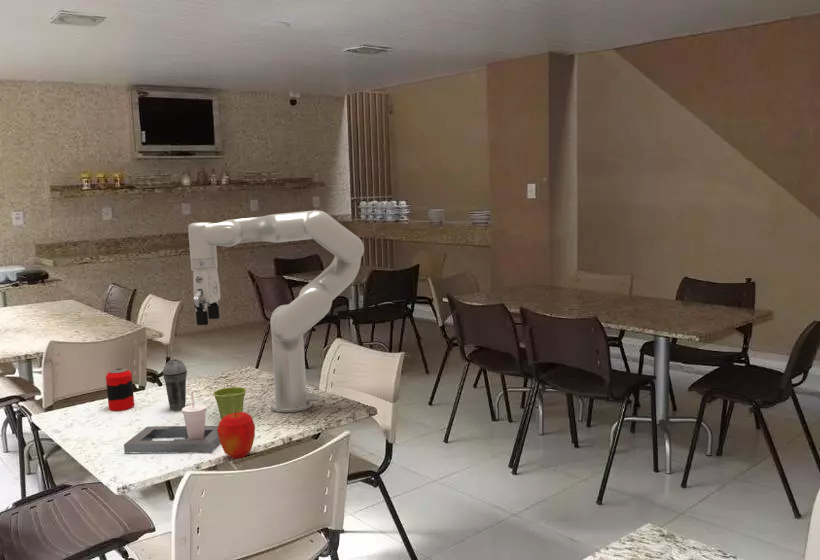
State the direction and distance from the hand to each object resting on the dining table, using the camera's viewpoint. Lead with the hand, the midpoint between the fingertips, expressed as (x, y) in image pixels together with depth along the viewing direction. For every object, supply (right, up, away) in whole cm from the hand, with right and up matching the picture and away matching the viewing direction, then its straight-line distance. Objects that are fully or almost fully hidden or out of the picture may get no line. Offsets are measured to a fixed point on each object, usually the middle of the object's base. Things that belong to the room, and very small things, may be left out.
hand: (208, 321), depth 213 cm
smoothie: (+3, -31, -21) cm, 38 cm away
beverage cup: (-12, -28, +10) cm, 32 cm away
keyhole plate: (-2, -31, -21) cm, 38 cm away
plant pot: (+8, -29, -3) cm, 30 cm away
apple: (+17, -32, -32) cm, 49 cm away
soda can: (-31, -28, +14) cm, 44 cm away
